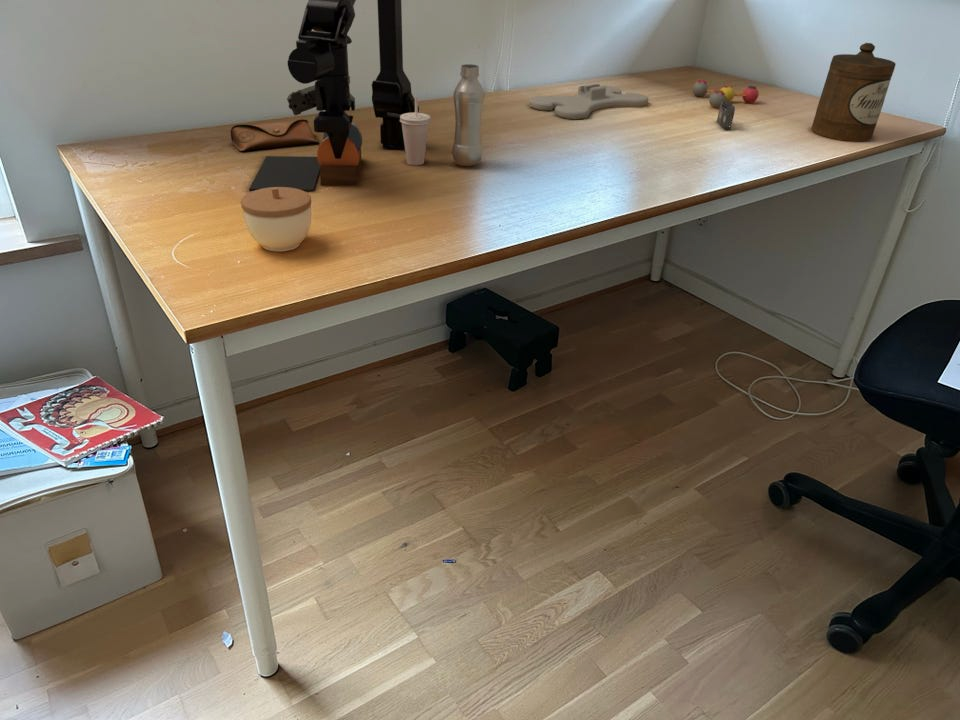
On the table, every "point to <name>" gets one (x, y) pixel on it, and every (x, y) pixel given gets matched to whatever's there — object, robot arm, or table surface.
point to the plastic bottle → (468, 117)
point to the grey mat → (287, 173)
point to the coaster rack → (340, 174)
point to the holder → (587, 101)
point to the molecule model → (724, 93)
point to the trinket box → (277, 217)
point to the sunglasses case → (272, 135)
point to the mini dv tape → (725, 114)
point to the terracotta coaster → (348, 156)
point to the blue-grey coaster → (352, 135)
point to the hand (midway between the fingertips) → (338, 157)
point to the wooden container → (853, 95)
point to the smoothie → (415, 135)
